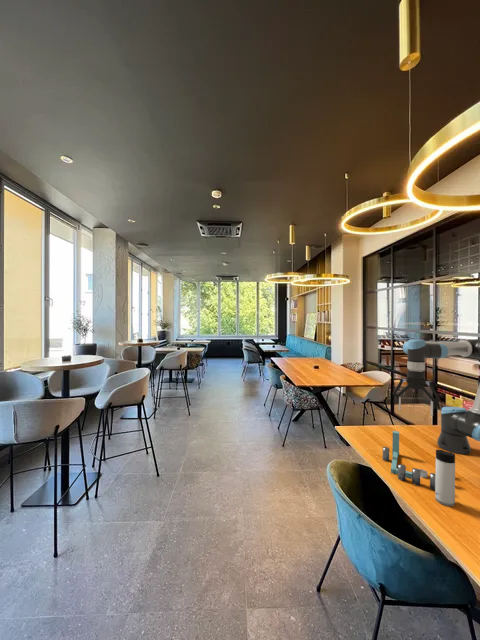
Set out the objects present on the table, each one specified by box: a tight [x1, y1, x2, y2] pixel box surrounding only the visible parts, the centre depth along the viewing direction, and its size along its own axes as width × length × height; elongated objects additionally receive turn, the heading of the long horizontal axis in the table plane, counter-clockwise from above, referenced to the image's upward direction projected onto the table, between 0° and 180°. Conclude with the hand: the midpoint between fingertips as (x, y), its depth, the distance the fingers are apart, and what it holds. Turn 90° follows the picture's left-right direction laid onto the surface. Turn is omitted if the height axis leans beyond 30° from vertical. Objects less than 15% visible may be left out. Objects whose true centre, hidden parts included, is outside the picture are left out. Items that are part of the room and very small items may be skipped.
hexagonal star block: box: [418, 468, 429, 479], centre depth 129 cm, size 4×5×2 cm
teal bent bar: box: [390, 430, 412, 480], centre depth 138 cm, size 24×10×12 cm, turn 148°
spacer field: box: [382, 446, 436, 492], centre depth 130 cm, size 26×20×6 cm
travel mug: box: [434, 449, 456, 507], centre depth 110 cm, size 6×7×20 cm
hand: (415, 412), depth 139 cm, fingers open, 13 cm apart
